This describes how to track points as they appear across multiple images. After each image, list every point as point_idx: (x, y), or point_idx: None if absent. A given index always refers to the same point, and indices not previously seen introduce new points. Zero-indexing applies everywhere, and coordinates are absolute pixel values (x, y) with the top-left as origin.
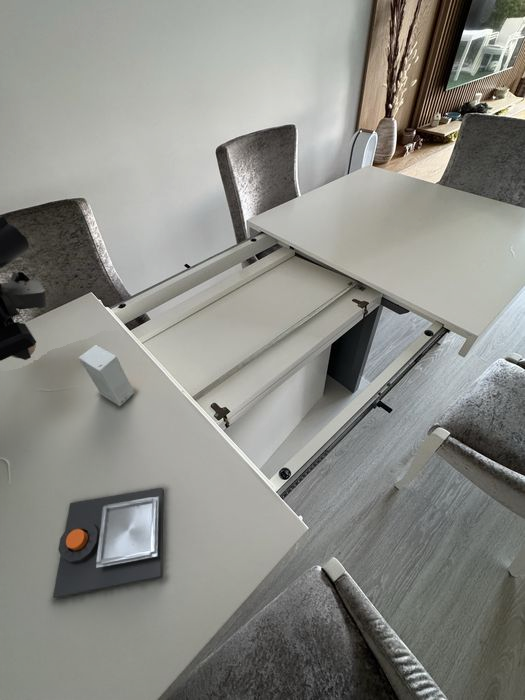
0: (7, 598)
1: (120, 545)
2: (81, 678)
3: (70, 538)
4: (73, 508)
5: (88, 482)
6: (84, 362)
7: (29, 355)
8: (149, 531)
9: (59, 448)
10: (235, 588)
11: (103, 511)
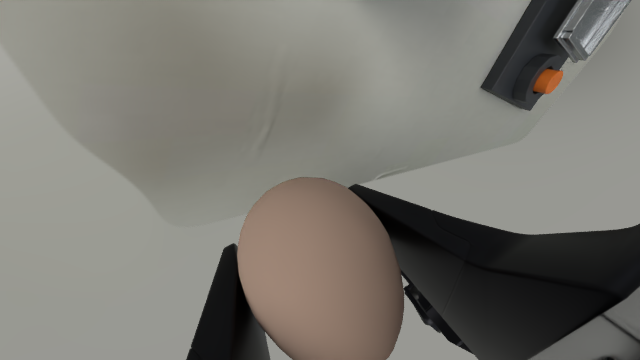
0: (487, 149)
1: (593, 26)
2: (560, 90)
3: (550, 88)
4: (498, 86)
5: (474, 62)
6: None
7: (369, 190)
8: None
9: (405, 105)
10: None
11: (572, 38)
